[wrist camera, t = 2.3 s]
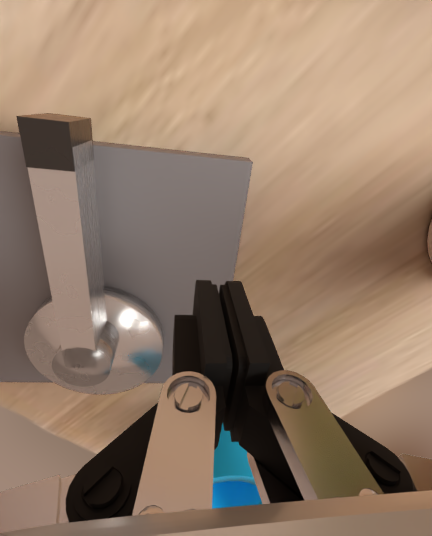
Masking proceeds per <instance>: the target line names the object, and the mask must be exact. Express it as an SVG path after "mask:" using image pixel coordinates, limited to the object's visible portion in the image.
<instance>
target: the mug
mask: <svg viewBox="0 0 432 536" xmlns="http://www.w3.org/2000/svg"><path fill="white" fill-rule="evenodd" d="M259 504H262V501H261V498H260V495H259V492H258V489H257V486H256V483H255V480H254V477H253V474H252V471H251V468H250V466H249V463H248V458H247V451H246V450H245V449H243V448H242V447H241V446H240V445H239V442H231V435H230V431H225V430H224V426H223V423H222V428H221V433H220V438H219V443H218V447H217V448H216V449H215V450H214V468H213V495H212V509H213V508H224V507H235V506H247V505H259Z"/></svg>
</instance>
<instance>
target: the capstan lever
mask: <svg viewBox="0 0 432 536" xmlns="http://www.w3.org/2000/svg"><path fill="white" fill-rule="evenodd" d="M17 121H18V126H19V132H20V137H21V142H22V148H23V153H24V158H25V163H26V167H27V168H28V173H29V178H30V184H31V189H32V194H33V200H34V205H35V210H36V216H37V221H38V226H39V232H40V237H41V242H42V247H43V253H44V258H45V263H46V269H47V274H48V279H49V285H50V290H51V295H52V296H51V297H49V298H48V299H47V300H46V301H45V302H44V303H43V304H42V305H41V306H40V308H39V309H38V310H37V312H36V313H35V315H34V316H33V317H32V319H31V320H30V322H29V323H28V325H27V328H26V330H25V335H24V345H25V350H26V353H27V356H28V358H29V359H30V361H31V363H32V364H33V365H34V367H35V368H36V369H37V370H38V371H39V372H40V373H41V374H42V375H44V376H45V377H46V378H48V379H49V380H51V381H52V382H54V383H56V384H58V385H60V386H62V387H65V388H67V389H70V390H73V391H77V392H82V393H88V394H114V393H119V392H124V391H127V390H130V389H133V388H135V387H137V386H139V385H141V384H142V383H144V382H145V381H147V380H148V379H149V378H150V377H151V376H152V375H153V374H154V373H155V371H156V370H157V368H158V367H159V365H160V362H161V359H162V351H163V341H164V335H163V329H162V325H161V323H160V320H159V319H158V317H157V315H156V314H155V313H154V312H153V310H152V309H151V308H150V307H149V306H148V305H147V304H146V303H144V302H143V301H142V300H140V299H139V298H137V297H135V296H134V295H132V294H130V293H128V292H125V291H123V290H120V289H117V288H113V287H108V286H104V280H103V268H102V256H101V243H100V231H99V219H98V207H97V195H96V183H95V171H94V152H93V140H92V128H91V118H85V117H76V116H68V115H60V114H51V113H46V114H34V115H23V116H17Z"/></svg>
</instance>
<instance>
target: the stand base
mask: <svg viewBox="0 0 432 536" xmlns="http://www.w3.org/2000/svg"><path fill="white" fill-rule="evenodd" d="M93 152H94V171H95V183H96V195H97V207H98V219H99V231H100V243H101V256H102V268H103V280H104V286H108V287H113V288H117V289H120V290H123V291H125V292H128V293H130V294H132V295H134V296H135V297H137V298H139V299H140V300H142V301H143V302H144V303H146V304H147V305H148V306H149V307H150V308H151V309H152V310H153V312H154V313H155V314H156V315H157V317H158V319H159V320H160V323H161V325H162V329H163V335H164V341H163V351H162V359H161V362H160V365H159V367H158V368H157V370H156V371H155V373H154V374H153V375H152V376H151V377H150V378H149V379H148V380H147V381H145V382H144V383H165V382H166V381H167V380H168V379H169V378H170V377H171V376H172V359H173V330H174V315H193V304H194V293H195V283H196V280H211V282H212V284H216V285H217V288H218V293H219V288H220V285H225V282H226V281H233V278H234V272H235V266H236V260H237V254H238V248H239V242H240V236H241V230H242V224H243V218H244V212H245V206H246V200H247V194H248V188H249V182H250V176H251V170H252V164H253V162H252V161H251V160H250V159H249V158H243V157H234V156H225V155H215V154H206V153H197V152H188V151H179V150H169V149H160V148H151V147H142V146H132V145H123V144H114V143H105V142H95V141H93ZM51 296H52V295H51V290H50V285H49V279H48V274H47V269H46V263H45V258H44V253H43V247H42V242H41V237H40V232H39V226H38V221H37V216H36V210H35V205H34V200H33V194H32V189H31V184H30V178H29V173H28V168H27V167H26V163H25V158H24V153H23V148H22V142H21V137H20V133H12V132H3V131H0V382H52V381H51V380H49V379H48V378H46V377H45V376H44V375H42V374H41V373H40V372H39V371H38V370H37V369H36V368H35V367H34V365H33V364H32V363H31V361H30V359H29V358H28V356H27V353H26V350H25V345H24V335H25V330H26V328H27V325H28V323H29V322H30V320H31V319H32V317H33V316H34V315H35V313H36V312H37V310H38V309H39V308H40V306H41V305H42V304H43V303H44V302H45V301H46V300H47V299H48V298H49V297H51Z"/></svg>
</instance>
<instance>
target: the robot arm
mask: <svg viewBox="0 0 432 536" xmlns="http://www.w3.org/2000/svg"><path fill="white" fill-rule="evenodd" d="M427 244H428V254H429V257H430V260H431V263H432V221H431V223H430V226H429V232H428V239H427ZM222 423H223V426H224V430H225V431H230V435H231V442H239V445H240V446H241V447H242V448H243V449H245V450H246V451H247V458H248V463H249V466H250V468H251V471H252V474H253V477H254V480H255V483H256V486H257V489H258V492H259V495H260V498H261V501H262V504H259V505H247V506H235V507H224V508H213V509H212V495H213V468H214V450H215V449H216V448H217V447H218V443H219V438H220V433H221V428H222ZM0 536H432V459H428V458H423V457H418V456H413V455H408V454H402V453H401V455H400V456H399V457H397V456H396V455H395V454H394V453H392V452H391V451H390V450H388V449H387V448H386V447H384V446H383V445H381V444H380V443H378V442H376V441H375V440H373V439H372V438H370V437H369V436H367V435H366V434H364V433H362V432H361V431H359V430H358V429H356V428H354V427H353V426H351V425H350V424H348V423H347V422H345V421H343V420H342V419H340V418H339V417H337V416H336V415H334V414H333V413H331V412H330V410H329V409H328V407H327V405H326V404H325V402H324V401H323V399H322V398H321V396H320V395H319V393H318V392H317V390H316V389H315V387H314V386H313V385H312V383H311V382H310V381H309V380H308V379H306V378H305V377H304V376H302V375H300V374H298V373H296V372H292V371H288V370H284V369H283V366H282V364H281V361H280V359H279V356H278V354H277V351H276V349H275V346H274V344H273V341H272V338H271V336H270V333H269V331H268V328H267V326H266V323H265V321H264V319H263V317H261V316H253V313H252V310H251V308H250V305H249V302H248V299H247V296H246V294H245V291H244V288H243V285H242V283H241V282H240V281H226V282H225V285H220V288H219V293H218V288H217V285H216V284H212V282H211V280H196V283H195V293H194V304H193V315H174V330H173V359H172V376H171V377H170V378H169V379H168V380H167V381H166V382H165V383H164V385H163V387H162V390H161V394H160V398H159V402H158V403H157V404H156V405H155V406H154V407H152V408H151V409H150V410H149V411H148V412H147V413H145V414H144V415H143V416H142V417H141V418H139V419H138V420H137V421H136V422H135V423H134V424H132V425H131V426H130V427H129V428H128V429H127V430H125V431H124V432H123V433H122V434H121V435H119V436H118V437H117V438H116V439H115V440H114V441H112V442H111V443H110V444H109V445H108V446H107V447H105V448H104V449H103V450H102V451H101V452H100V453H98V454H97V455H96V456H95V457H94V458H92V459H91V460H90V461H89V462H88V463H87V464H85V465H84V467H82V469H81V470H80V471H79V472H78V473H77V474H74V475H71V476H67V477H64V478H60V475H56V476H52V477H49V478H46V479H42V480H39V481H35V482H32V483H29V484H25V485H22V486H18V487H15V488H12V489H8V490H5V491H1V492H0Z"/></svg>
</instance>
